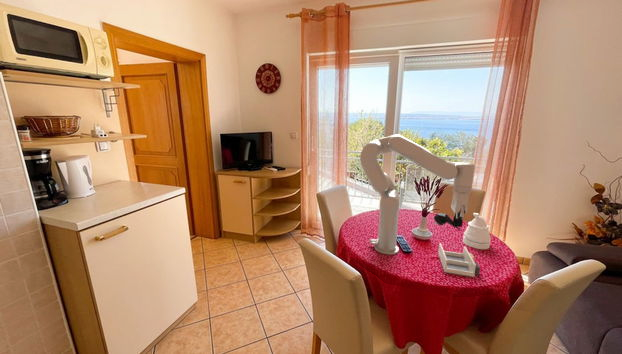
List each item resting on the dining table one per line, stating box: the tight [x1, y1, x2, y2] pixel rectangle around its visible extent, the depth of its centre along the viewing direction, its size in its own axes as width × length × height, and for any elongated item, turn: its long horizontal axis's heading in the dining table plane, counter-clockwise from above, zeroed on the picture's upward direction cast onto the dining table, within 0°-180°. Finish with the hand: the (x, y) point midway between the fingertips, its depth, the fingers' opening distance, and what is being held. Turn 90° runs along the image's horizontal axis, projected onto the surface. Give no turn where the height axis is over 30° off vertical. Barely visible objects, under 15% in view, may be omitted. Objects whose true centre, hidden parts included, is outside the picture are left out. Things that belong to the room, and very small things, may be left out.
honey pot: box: [462, 212, 492, 250], centre depth 139 cm, size 13×13×18 cm
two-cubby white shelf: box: [437, 242, 476, 278], centre depth 120 cm, size 12×18×6 cm, turn 162°
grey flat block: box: [474, 261, 481, 277], centre depth 114 cm, size 1×5×4 cm, turn 162°
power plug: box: [433, 212, 461, 232], centre depth 123 cm, size 6×8×12 cm
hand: (457, 225), depth 120 cm, fingers closed on power plug, 2 cm apart
